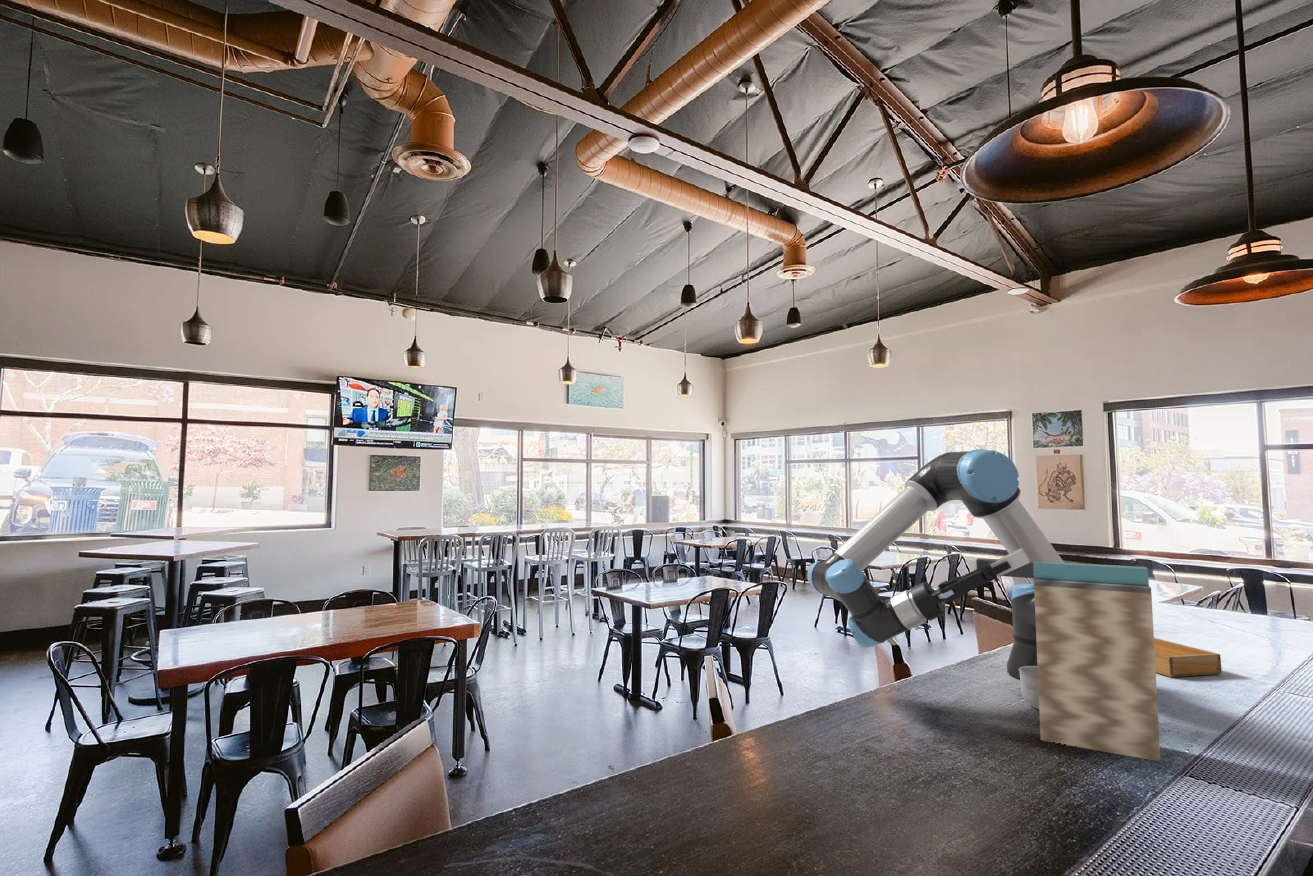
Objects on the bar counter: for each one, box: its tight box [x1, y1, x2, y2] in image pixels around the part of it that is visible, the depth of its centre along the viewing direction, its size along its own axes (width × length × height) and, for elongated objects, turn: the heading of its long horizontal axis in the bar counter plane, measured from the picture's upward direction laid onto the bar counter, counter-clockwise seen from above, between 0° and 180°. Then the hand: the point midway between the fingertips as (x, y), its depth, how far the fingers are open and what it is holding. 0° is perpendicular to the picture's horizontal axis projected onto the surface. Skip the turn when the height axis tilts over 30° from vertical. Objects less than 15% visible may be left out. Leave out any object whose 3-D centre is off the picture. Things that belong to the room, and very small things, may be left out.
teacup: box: [1019, 666, 1039, 710], centre depth 138 cm, size 14×11×8 cm
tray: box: [1154, 637, 1222, 678], centre depth 175 cm, size 31×15×6 cm, turn 9°
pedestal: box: [1034, 578, 1162, 762], centre depth 121 cm, size 18×8×30 cm, turn 59°
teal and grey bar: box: [976, 557, 1150, 586], centre depth 124 cm, size 28×3×3 cm, turn 59°
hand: (1025, 555), depth 127 cm, fingers closed on teal and grey bar, 3 cm apart
